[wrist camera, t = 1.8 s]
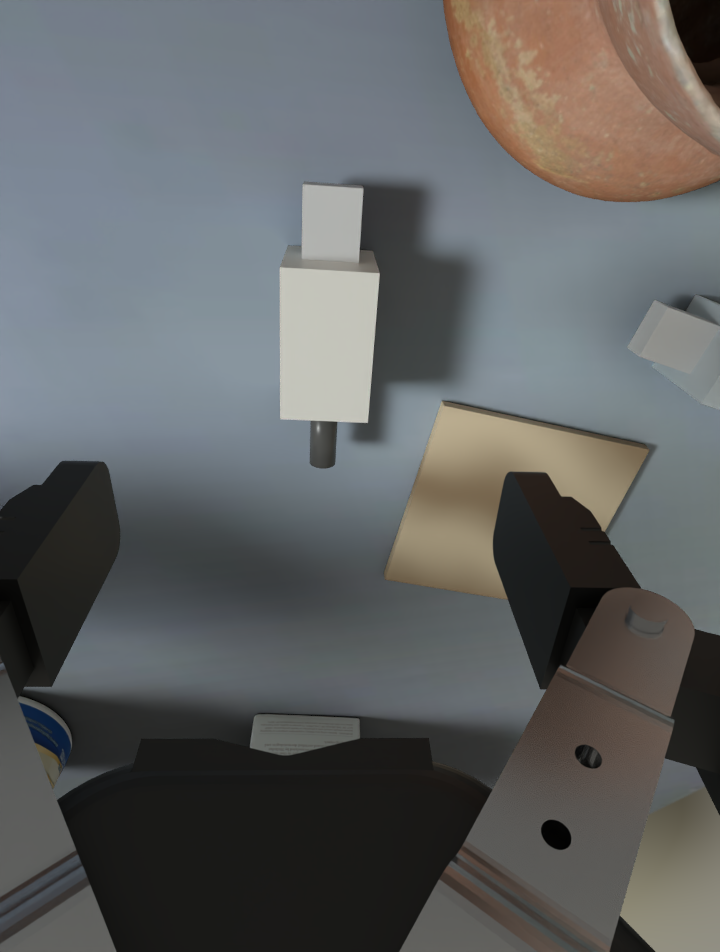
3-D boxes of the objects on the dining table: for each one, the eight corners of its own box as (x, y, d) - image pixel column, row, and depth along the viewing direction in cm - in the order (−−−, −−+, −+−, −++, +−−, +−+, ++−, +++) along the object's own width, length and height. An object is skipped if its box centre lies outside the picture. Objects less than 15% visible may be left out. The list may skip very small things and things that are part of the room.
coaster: (559, 601, 36) (562, 608, 36) (384, 572, 34) (384, 579, 34) (644, 444, 31) (649, 449, 30) (442, 400, 29) (443, 405, 29)
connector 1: (358, 441, 30) (362, 488, 26) (287, 438, 30) (280, 485, 26) (377, 183, 24) (386, 194, 20) (288, 176, 24) (279, 186, 20)
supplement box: (252, 710, 40) (222, 929, 29) (361, 715, 41) (372, 930, 30) (249, 777, 44) (222, 992, 33) (350, 780, 45) (355, 992, 34)
